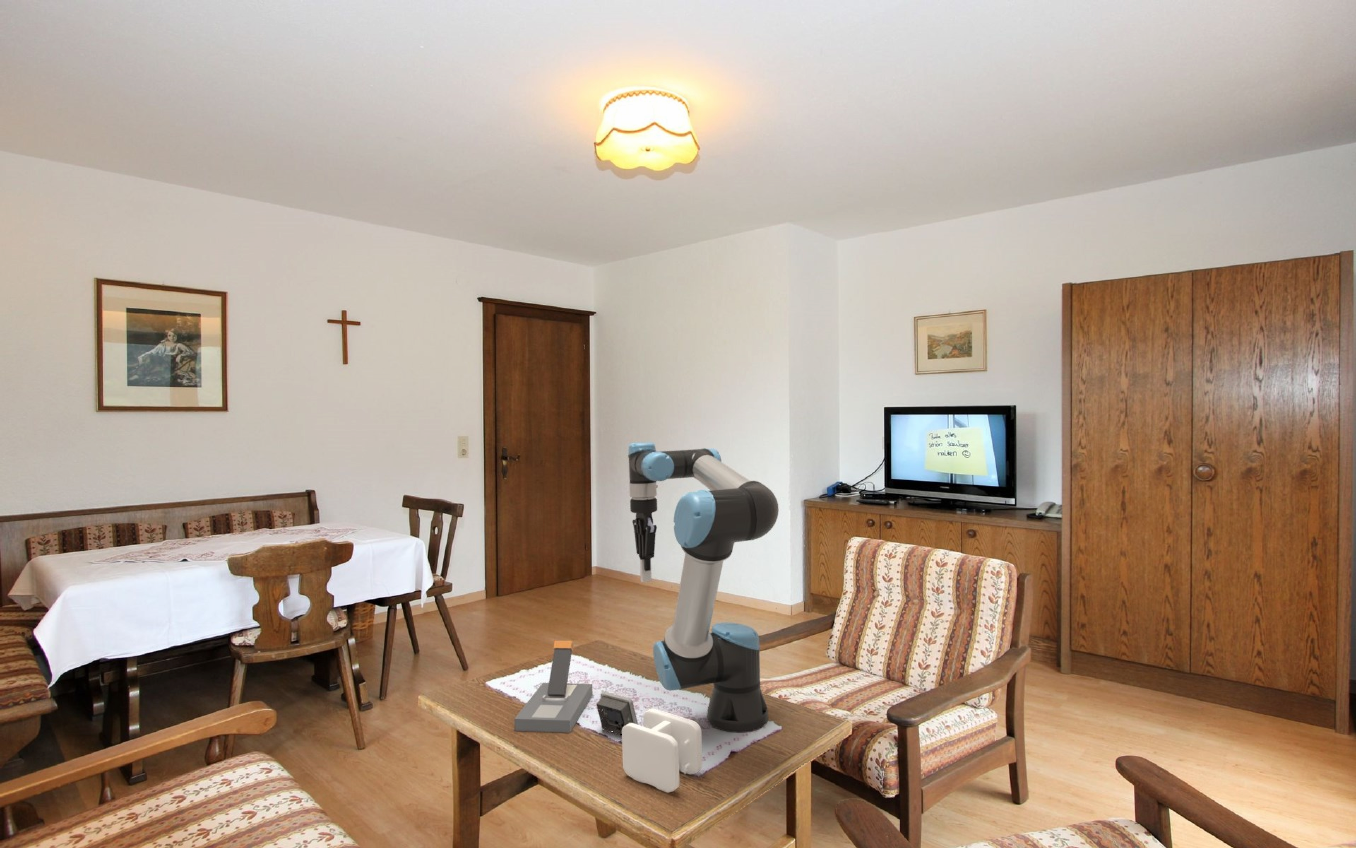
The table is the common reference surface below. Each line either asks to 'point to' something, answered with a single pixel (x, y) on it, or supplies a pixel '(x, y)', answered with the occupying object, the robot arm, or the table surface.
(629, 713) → the electrical switch
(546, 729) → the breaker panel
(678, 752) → the cable organizer
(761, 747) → the table surface
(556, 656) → the breaker lever
